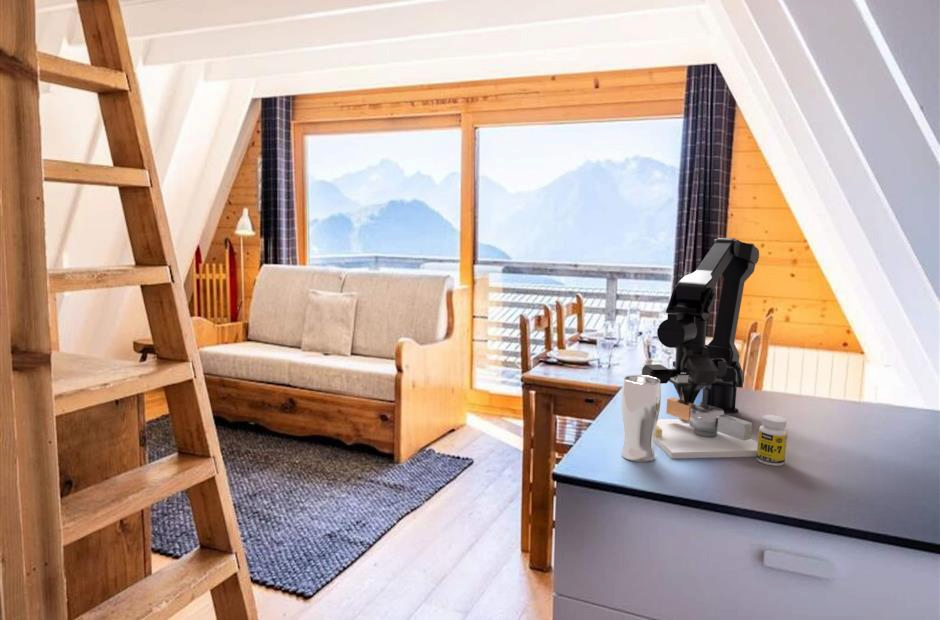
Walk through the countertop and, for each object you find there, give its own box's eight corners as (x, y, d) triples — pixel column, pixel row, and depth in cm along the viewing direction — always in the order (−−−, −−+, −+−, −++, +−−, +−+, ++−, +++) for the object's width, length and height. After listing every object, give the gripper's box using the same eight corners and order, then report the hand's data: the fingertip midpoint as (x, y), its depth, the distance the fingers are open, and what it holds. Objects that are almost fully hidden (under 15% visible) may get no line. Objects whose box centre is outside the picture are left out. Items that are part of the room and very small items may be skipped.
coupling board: (720, 423, 140) (721, 411, 140) (768, 456, 122) (769, 442, 121) (636, 425, 139) (636, 412, 138) (671, 458, 120) (672, 444, 119)
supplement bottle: (755, 463, 118) (759, 419, 117) (757, 455, 122) (760, 412, 121) (784, 468, 116) (788, 423, 115) (785, 459, 120) (789, 416, 119)
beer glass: (636, 466, 116) (640, 386, 114) (611, 453, 122) (615, 376, 120) (665, 459, 119) (669, 381, 117) (639, 447, 125) (643, 373, 123)
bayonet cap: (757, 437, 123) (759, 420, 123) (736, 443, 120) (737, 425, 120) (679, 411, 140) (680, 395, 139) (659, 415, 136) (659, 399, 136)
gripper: (663, 349, 125) (659, 426, 127) (754, 347, 127) (748, 423, 129) (642, 338, 136) (639, 409, 138) (725, 337, 138) (721, 406, 140)
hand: (686, 412), depth 136 cm, fingers closed
